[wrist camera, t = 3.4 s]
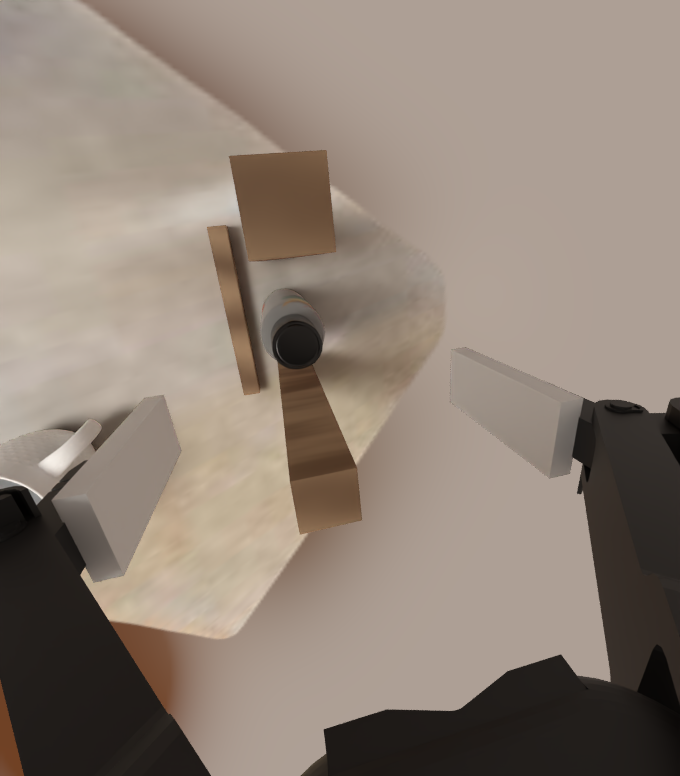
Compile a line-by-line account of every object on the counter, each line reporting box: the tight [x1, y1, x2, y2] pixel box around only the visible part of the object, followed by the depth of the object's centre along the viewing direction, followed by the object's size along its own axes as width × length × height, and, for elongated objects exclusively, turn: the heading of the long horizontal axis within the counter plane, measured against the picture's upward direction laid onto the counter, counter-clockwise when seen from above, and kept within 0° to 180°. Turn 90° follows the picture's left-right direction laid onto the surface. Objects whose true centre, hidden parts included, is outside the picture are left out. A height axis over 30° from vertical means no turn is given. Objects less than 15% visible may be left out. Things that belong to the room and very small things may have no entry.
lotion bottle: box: [260, 289, 325, 369], centre depth 34 cm, size 6×6×20 cm
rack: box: [207, 150, 362, 534], centre depth 30 cm, size 20×9×28 cm, turn 6°
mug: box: [0, 419, 102, 505], centre depth 38 cm, size 15×11×13 cm
